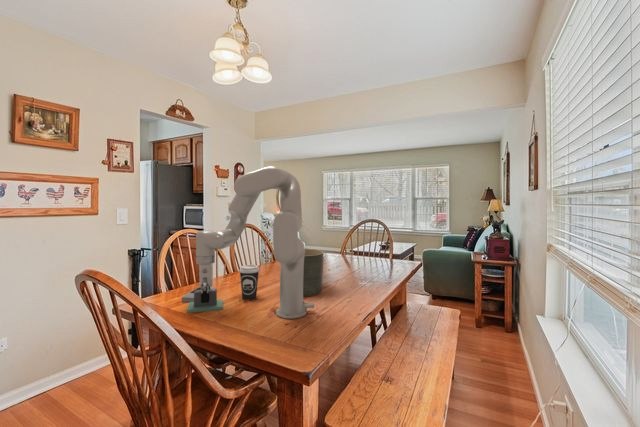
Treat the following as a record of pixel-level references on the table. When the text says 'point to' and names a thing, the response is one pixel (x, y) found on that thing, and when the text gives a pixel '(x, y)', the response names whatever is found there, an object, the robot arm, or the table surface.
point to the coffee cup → (249, 281)
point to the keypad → (191, 295)
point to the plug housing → (211, 298)
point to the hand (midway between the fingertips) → (205, 298)
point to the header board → (205, 307)
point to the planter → (313, 272)
